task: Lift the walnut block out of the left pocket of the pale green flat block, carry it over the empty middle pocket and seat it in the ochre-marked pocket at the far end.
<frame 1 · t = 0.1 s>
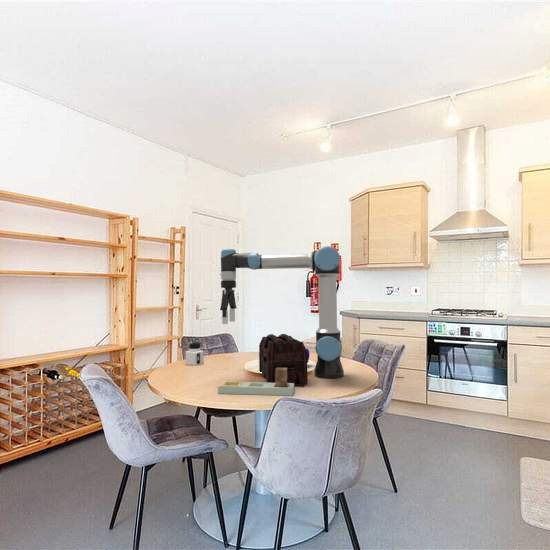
hand: (228, 322, 197), 28 cm above the table, fingers open, 13 cm apart
pale green flat block: (256, 391, 172), on the table
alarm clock: (297, 366, 227), on the table
crate: (282, 379, 196), on the table
container: (194, 364, 237), on the table
walnut block: (281, 389, 170), point 1 cm above the table, touching pale green flat block
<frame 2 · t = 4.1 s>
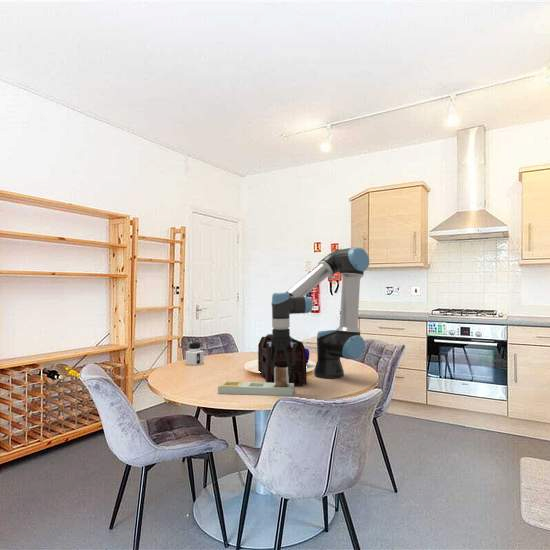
hand: (281, 382, 170), 4 cm above the table, fingers closed on walnut block, 4 cm apart
walnut block: (281, 389, 170), point 1 cm above the table, touching gripper, pale green flat block
everything else where it was.
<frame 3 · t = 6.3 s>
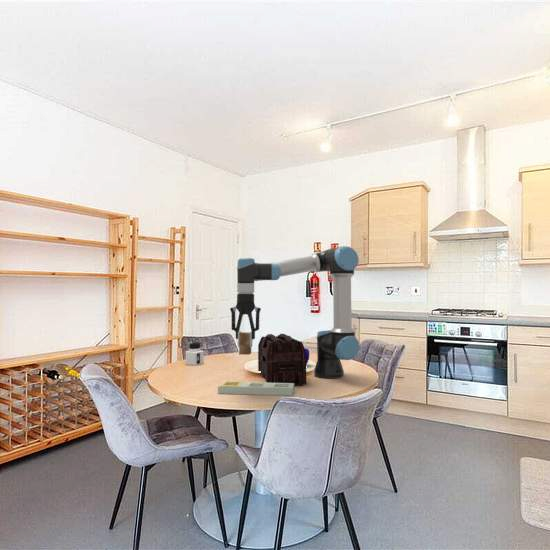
hand: (245, 346, 173), 20 cm above the table, fingers closed on walnut block, 4 cm apart
walnut block: (245, 353, 172), point 16 cm above the table, touching gripper
when the fingers open (6 cm above the table, at t = 8.4 s): walnut block drops 1 cm, resting on pale green flat block.
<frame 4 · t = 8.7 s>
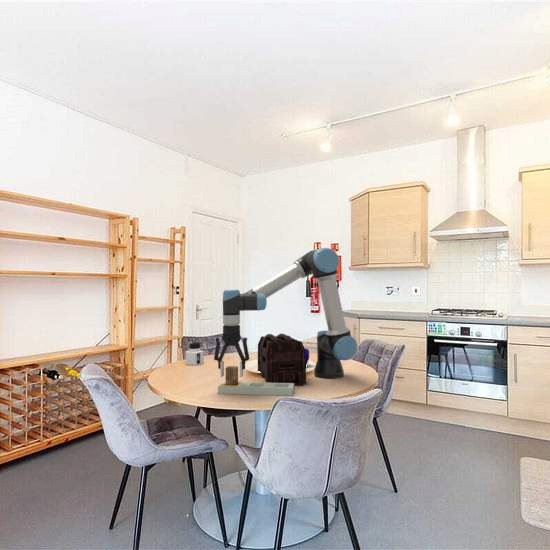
hand: (231, 376, 174), 6 cm above the table, fingers open, 8 cm apart
walnut block: (231, 387, 173), point 1 cm above the table, touching pale green flat block
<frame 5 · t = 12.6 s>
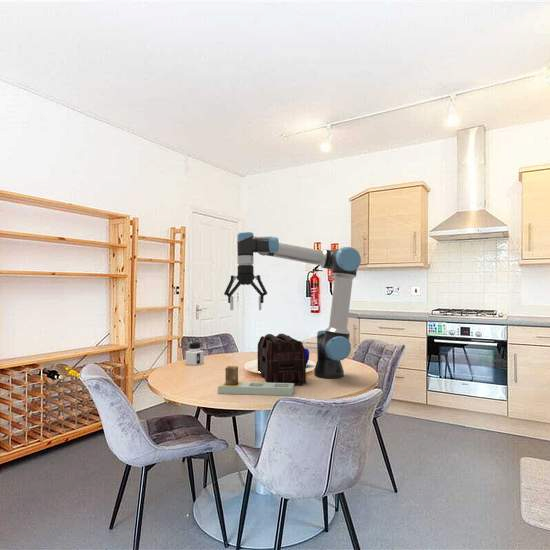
hand: (245, 310, 185), 35 cm above the table, fingers open, 13 cm apart
at the end: walnut block 0.1 cm from the target spot on the pale green flat block, point 1.4 cm above the pale green flat block's base; walnut block tilted 0°; the gripper is holding nothing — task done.
